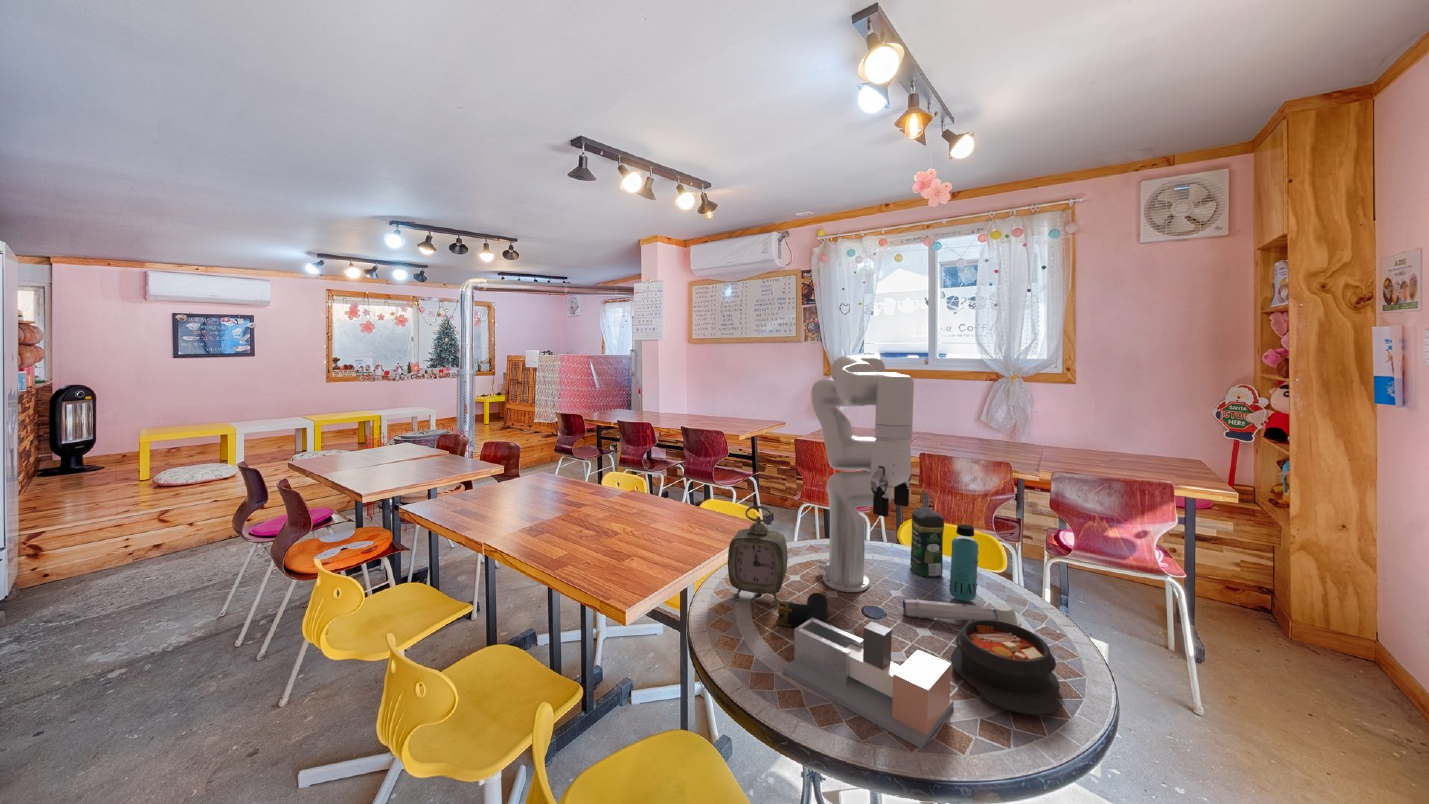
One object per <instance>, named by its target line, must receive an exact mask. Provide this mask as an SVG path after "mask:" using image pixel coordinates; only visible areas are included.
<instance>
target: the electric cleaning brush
mask: <svg viewBox="0 0 1429 804" xmlns="http://www.w3.org/2000/svg"><path fill="white" fill-rule="evenodd" d="M902 609H903V611H902V612H903V616H904V617H909V618H918V619H920V620H921V618H922V619H923V618H924V619H941V620H942V619H946V620H947V619H948V620H965V621H976V620H994V621H1001V622H1005V623H1009V624H1013V625H1016V626H1019V627H1022V625H1023V624H1022V621H1021V619H1020V618H1018V617H1017V615H1016V611H1015V609H1014V607H1012V606H1010V605H1008V604H996V605H995V606H994V607H993V606H984V605H975V604H964V603H953V602H944V601H943V602H942V601H935V600H934V601H933V600H932V601H931V600H924V599H923V600H922V599H920V598H917V597H916V599H906V598H905V599H902Z"/></svg>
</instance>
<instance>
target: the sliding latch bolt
mask: <svg viewBox="0 0 1429 804" xmlns="http://www.w3.org/2000/svg"><path fill="white" fill-rule="evenodd" d="M892 632H893V631H892V628H890V627H888V626H884V625H882V624H879V623H878V622H877V623H876V622H874V621H870V622H869V623H868V624H867V625H865V626H864V627H863V649H862V648H860V647H857V646H855V645H853V644H850V645H849V646H848V647H846V649H849V650H850V655H849V670H848V676H850V677H852V678H854V679H856V680H858V681H860V682H862V683H864V684H866V685H868V686H870V687H872V688H874V689H876V690H878V691H880V692H882V693H884V694H886V695H888V696H890V697H892V698H893V674H894V673H895V672H896V671H897V670H898V669H899V668H900V667H901V666H902V665H900V664H897V663H896V662H893V661H891V659H892V635H893V634H892Z"/></svg>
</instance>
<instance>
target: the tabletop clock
mask: <svg viewBox="0 0 1429 804" xmlns="http://www.w3.org/2000/svg"><path fill="white" fill-rule="evenodd" d="M753 509H757V510H758V509H760V510H763V511H767V512H768V514H769V517H768V518H764V519H762V517H761V516H759V515H757V516H756V518H754V517H751V516H749V514H748V512H749V511H750V510H753ZM744 514H745V517H746V518H747V519H748V520H750V521H752V522H753V523H751V524H750V526H749V528H742V529H739V530H738V531H737V532H736V533H735V535H734V537H732V539H731V541H730V543H729V547H728V552H727V553H728V554H727V571H728V579H729V582H730V584H731V586H732V587H733V588H735V589H736V590H737V592H735V593H734V594H733V599H734V600H739V599H740V597H741V596H740V593H741V591H744V592H748V593H753V594H758V595H759V594H761V595H762V594H765V595H766V594H767V595H768V594H769V595H772V596H773V599H774V600H773V604H774V605H775V606H779V601H781V600H780V599H779V598H777V594H778V593H779V592H780V590H781V588H782V586H783V584H784V581H785V577H786V574H787V569H788V561H789V560H788V559H789V558H788V545H787V541H786V537H785V535H784V534H783V533H781V532H778V531H775V530H770V529H769V527H768V526H767V525H766V524H765V522H768V521H771V519H772V518H773V517H772V516H773V515H772V512H771V510H770V509H769V508H767V507H765V506H762V505H752V506H749V507H748V508H746V510H745V513H744Z"/></svg>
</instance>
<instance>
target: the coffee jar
mask: <svg viewBox="0 0 1429 804" xmlns="http://www.w3.org/2000/svg"><path fill="white" fill-rule="evenodd" d="M944 529H945V518H944V517H943V516H942V515H941V514H940V513H938V512H937V511H935V510H933V509H931V508H930V507H917V508H915V509H914V510H913V511H912V512H911V542H910V544H911V545H910V547H911V548H910V563H909V565H910V567H911V568H912V570H913V571H914V573H916V574H917V575H919V576H922V577H927V578H937V577H941V576H942V575H943V567H944V566H943V565H944V564H943V559H944V558H943V550H944V546H943V542H944V541H943V539H944Z"/></svg>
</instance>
